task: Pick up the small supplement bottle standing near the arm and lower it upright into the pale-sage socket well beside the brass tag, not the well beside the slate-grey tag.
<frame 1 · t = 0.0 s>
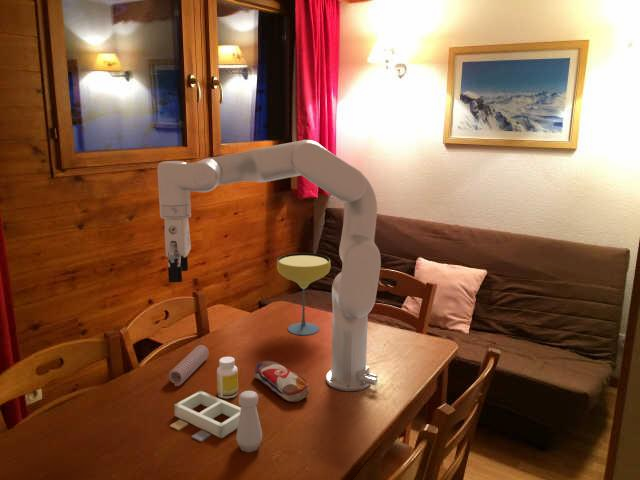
hand: (178, 276, 137), 31 cm above the table, tool pointing down, fingers open, 9 cm apart
cocktail glass: (303, 329, 183), on the table
slate tag: (201, 436, 121), on the table
pencil case: (280, 388, 144), on the table
salt shaker: (249, 447, 118), on the table
socket block: (210, 418, 128), on the table
supplement bottle: (228, 394, 140), on the table
brass tag: (179, 425, 125), on the table
coil: (190, 372, 153), on the table
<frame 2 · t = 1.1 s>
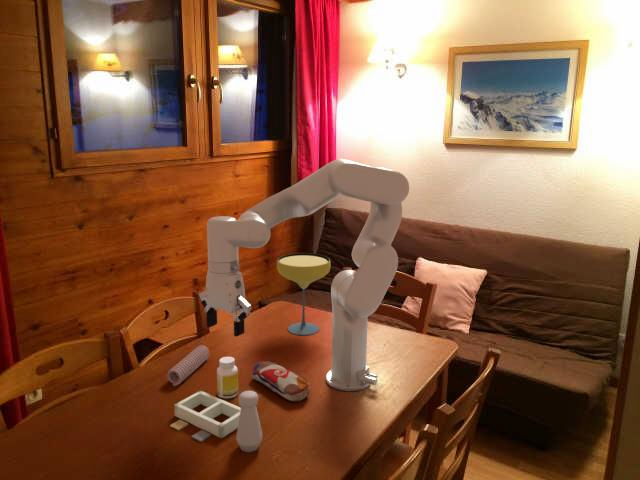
hand: (225, 330, 136), 18 cm above the table, tool pointing down, fingers open, 9 cm apart
nothing on the table moved.
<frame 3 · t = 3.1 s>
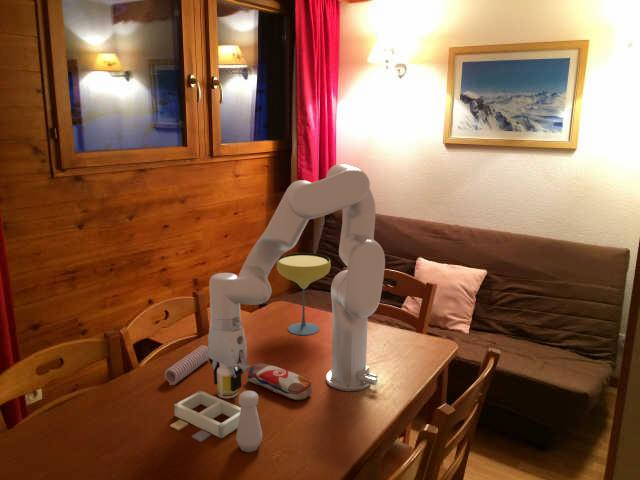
hand: (227, 385, 139), 3 cm above the table, tool pointing down, fingers closed on supplement bottle, 5 cm apart
supplement bottle: (228, 394, 140), on the table, touching gripper
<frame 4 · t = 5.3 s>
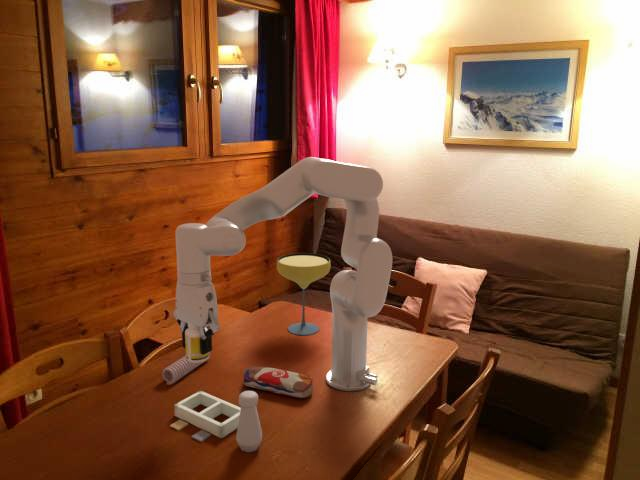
hand: (197, 348, 127), 17 cm above the table, tool pointing down, fingers closed on supplement bottle, 5 cm apart
supplement bottle: (197, 359, 127), point 15 cm above the table, touching gripper
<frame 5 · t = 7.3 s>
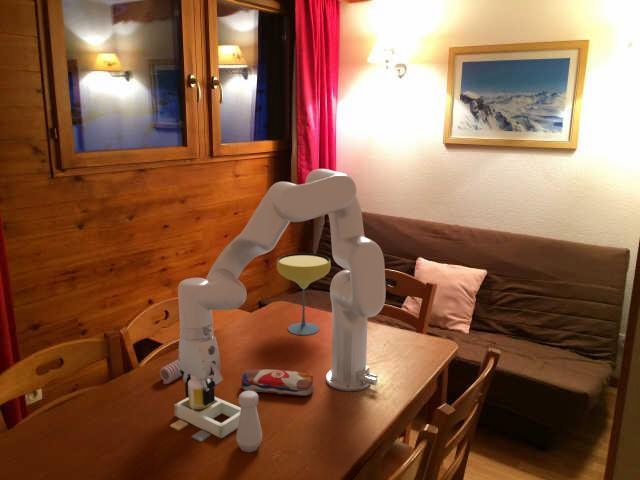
hand: (200, 398, 130), 4 cm above the table, tool pointing down, fingers closed on supplement bottle, 5 cm apart
supplement bottle: (200, 408, 130), point 1 cm above the table, touching gripper
when the fingers open (4 cm above the table, at t = 7.3 s): supplement bottle drops 2 cm, resting in socket block.
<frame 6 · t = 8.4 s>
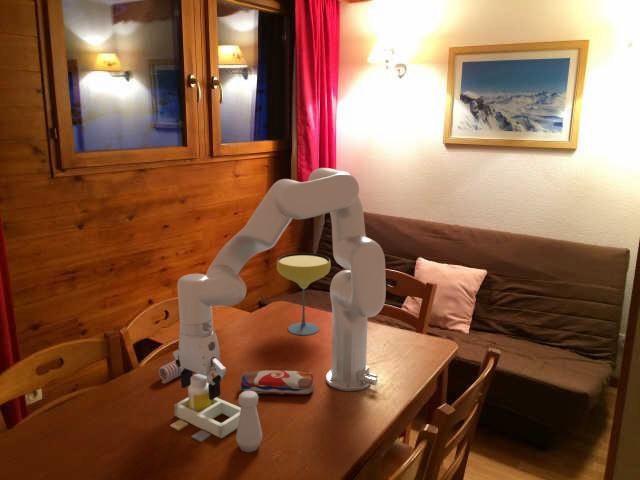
hand: (200, 391, 129), 6 cm above the table, tool pointing down, fingers open, 9 cm apart
supplement bottle: (200, 414, 131), resting in socket block
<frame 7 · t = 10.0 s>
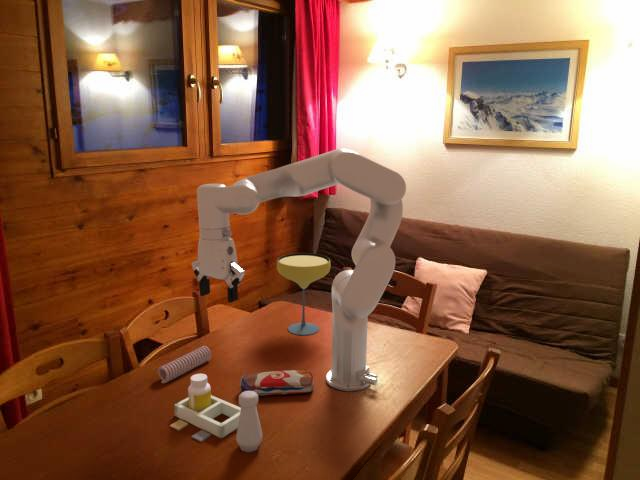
hand: (218, 297, 137), 26 cm above the table, tool pointing down, fingers open, 9 cm apart
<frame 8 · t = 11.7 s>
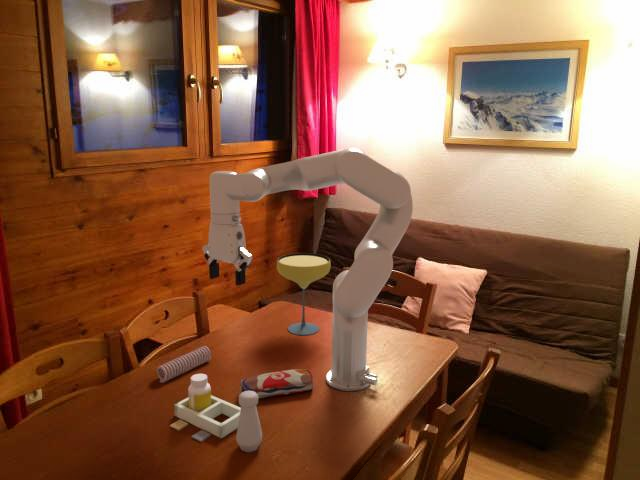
hand: (227, 281, 143), 28 cm above the table, tool pointing down, fingers open, 9 cm apart
at the end: supplement bottle 0.2 cm from the target spot on the socket block, point 0.0 cm above the socket block's base; supplement bottle tilted 0°; the gripper is holding nothing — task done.
